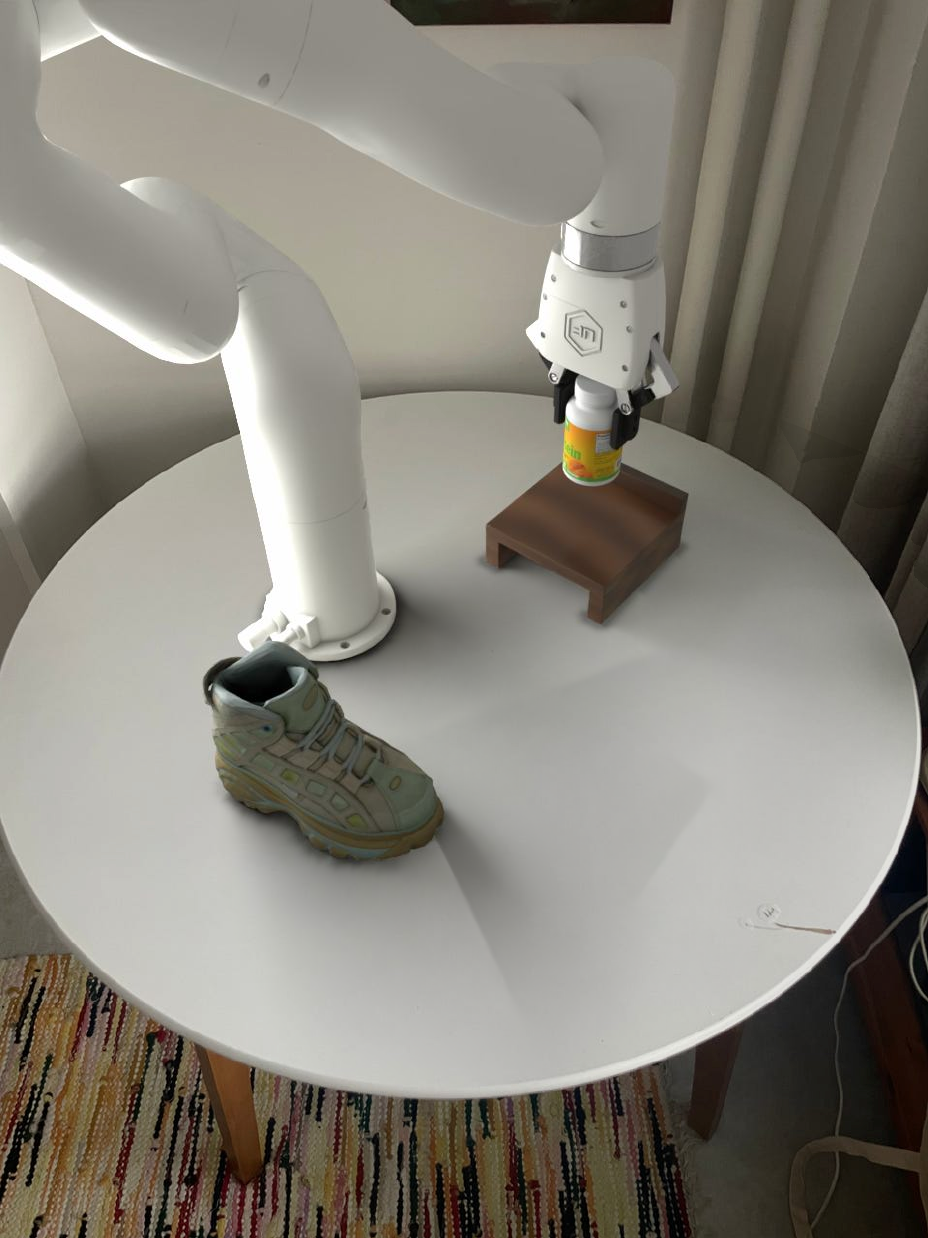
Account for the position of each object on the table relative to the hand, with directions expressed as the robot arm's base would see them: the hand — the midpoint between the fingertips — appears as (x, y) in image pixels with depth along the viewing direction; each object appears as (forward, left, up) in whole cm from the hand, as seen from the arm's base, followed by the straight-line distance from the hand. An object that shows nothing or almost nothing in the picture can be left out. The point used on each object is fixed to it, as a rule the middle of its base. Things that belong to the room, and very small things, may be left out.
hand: (594, 427), depth 93 cm
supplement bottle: (0, 0, -5) cm, 5 cm away
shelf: (0, 0, -16) cm, 16 cm away
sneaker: (-37, -1, -16) cm, 40 cm away
